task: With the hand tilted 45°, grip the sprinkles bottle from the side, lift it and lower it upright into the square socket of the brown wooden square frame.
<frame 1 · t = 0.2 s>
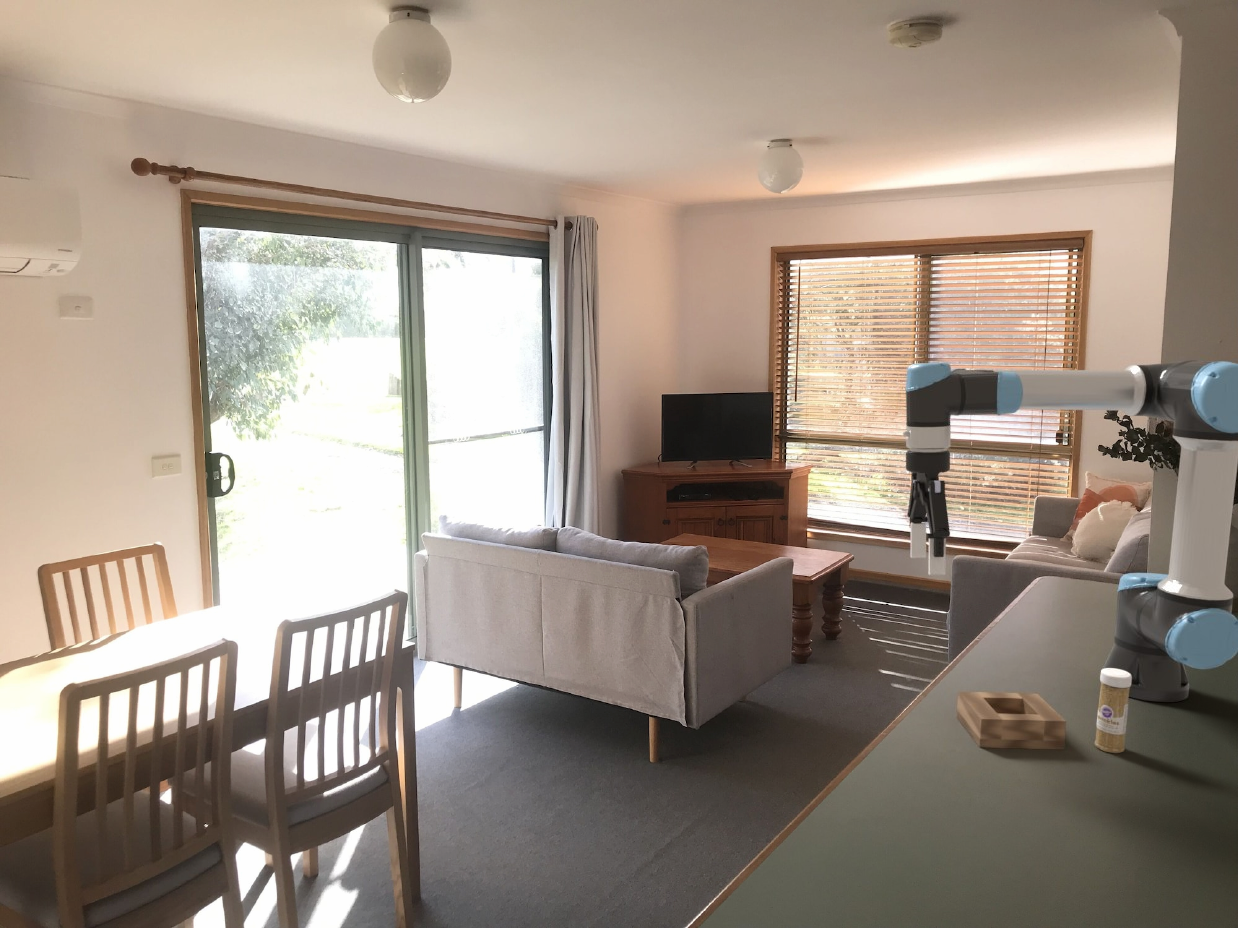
hand: (927, 565, 166), 27 cm above the kitchen counter, tool pointing down, fingers open, 13 cm apart
sprinkles bottle: (1109, 749, 155), on the kitchen counter
brown wooden square frame: (1008, 732, 160), on the kitchen counter
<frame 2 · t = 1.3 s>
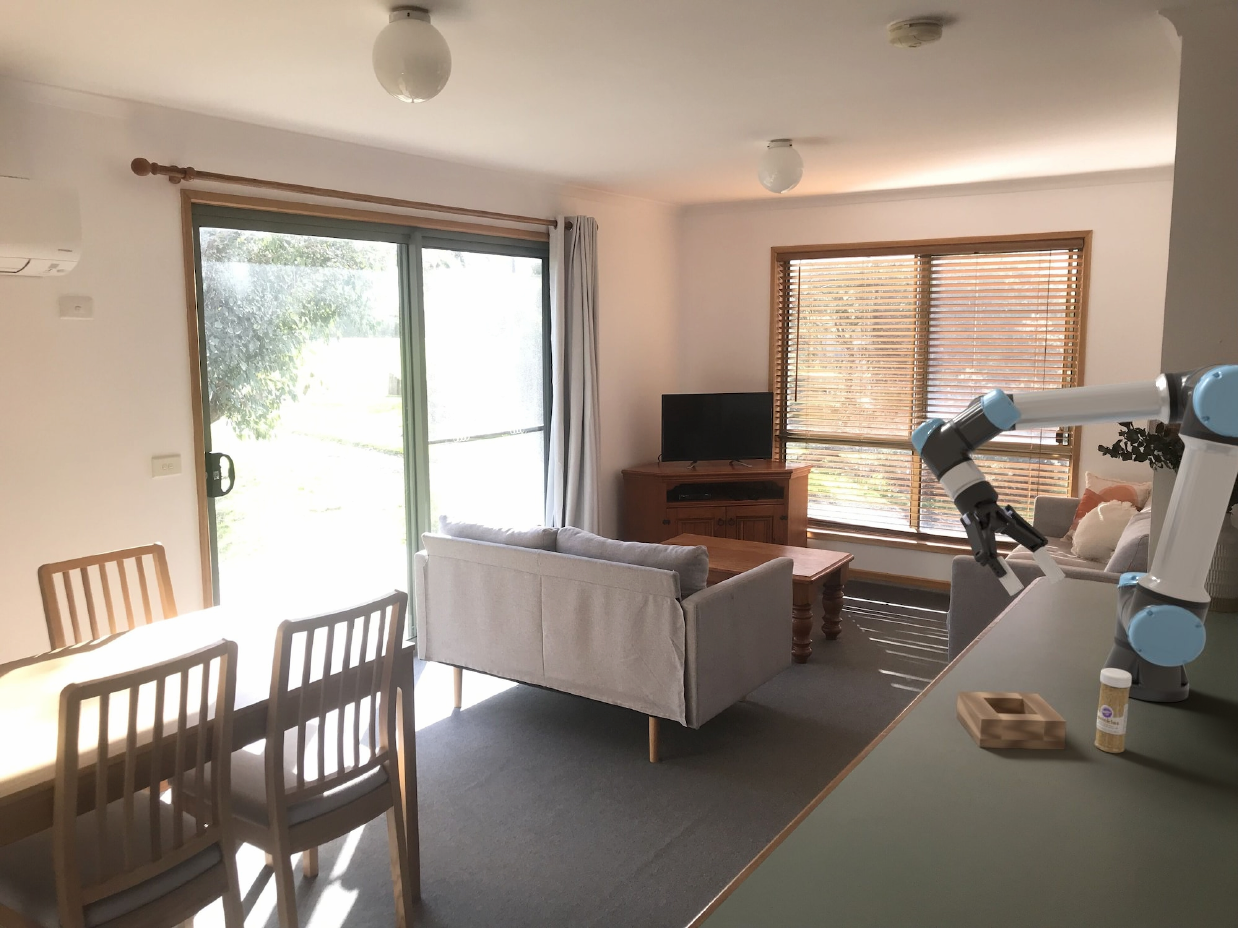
hand: (1038, 585, 163), 25 cm above the kitchen counter, tool tilted 45°, fingers open, 13 cm apart
nothing on the kitchen counter moved.
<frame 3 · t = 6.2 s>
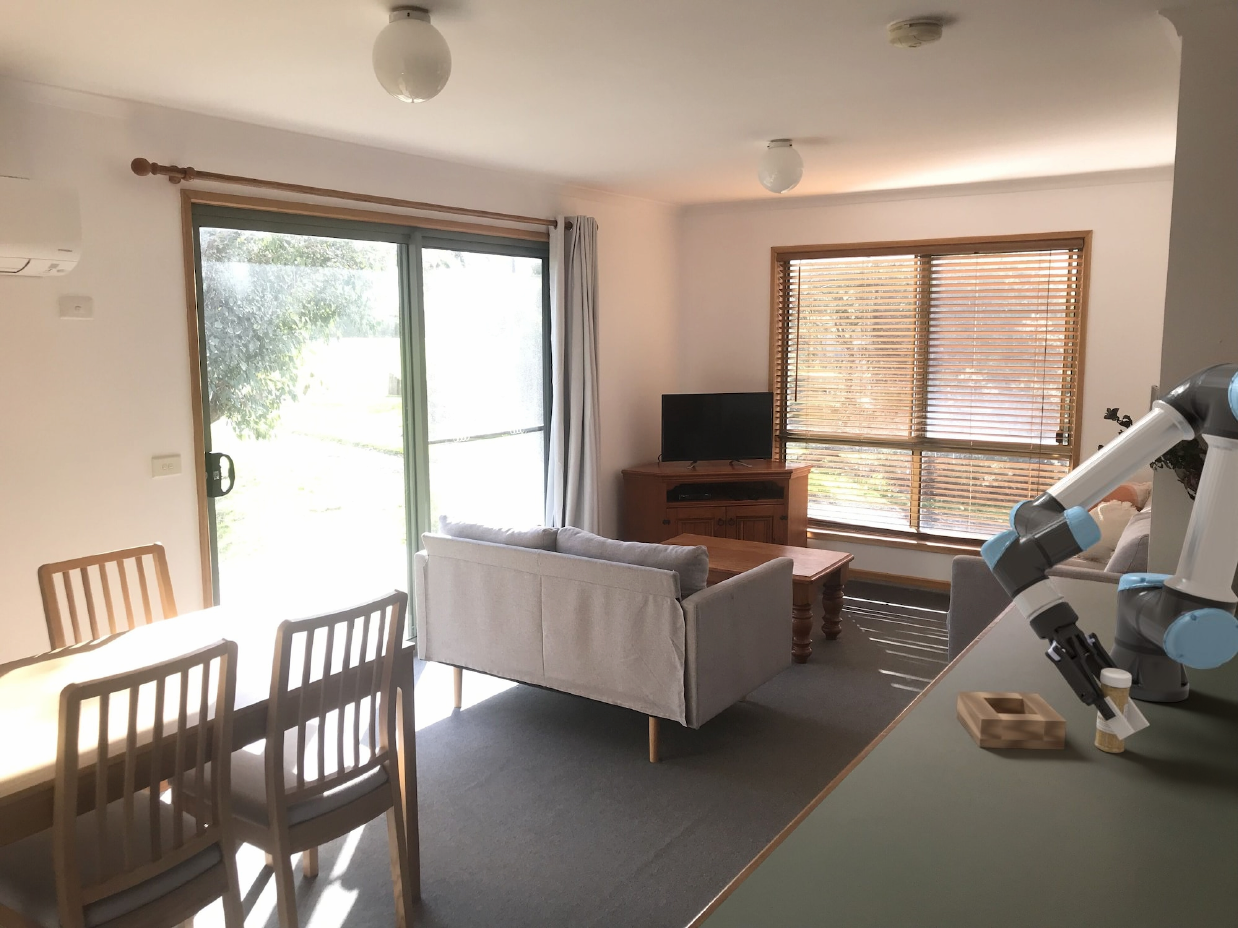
hand: (1134, 732, 151), 4 cm above the kitchen counter, tool tilted 45°, fingers closed on sprinkles bottle, 4 cm apart
sprinkles bottle: (1109, 749, 155), on the kitchen counter, touching gripper
when the fingers open (7 cm above the kitchen counter, at t = 11.3 s): sprinkles bottle drops 2 cm, resting on brown wooden square frame.
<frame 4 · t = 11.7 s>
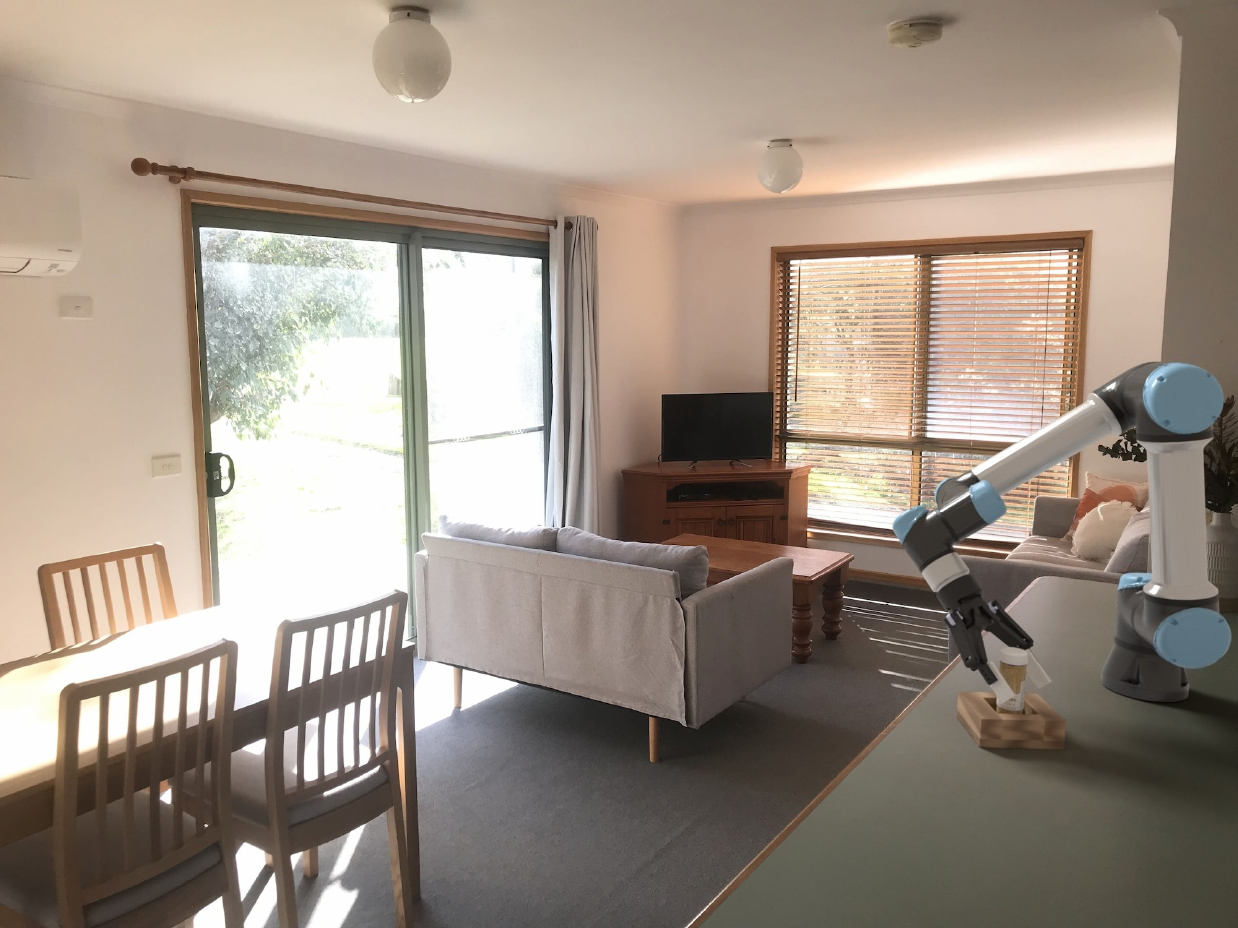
hand: (1027, 692, 157), 8 cm above the kitchen counter, tool tilted 45°, fingers open, 10 cm apart
sprinkles bottle: (1008, 725, 160), point 1 cm above the kitchen counter, touching brown wooden square frame
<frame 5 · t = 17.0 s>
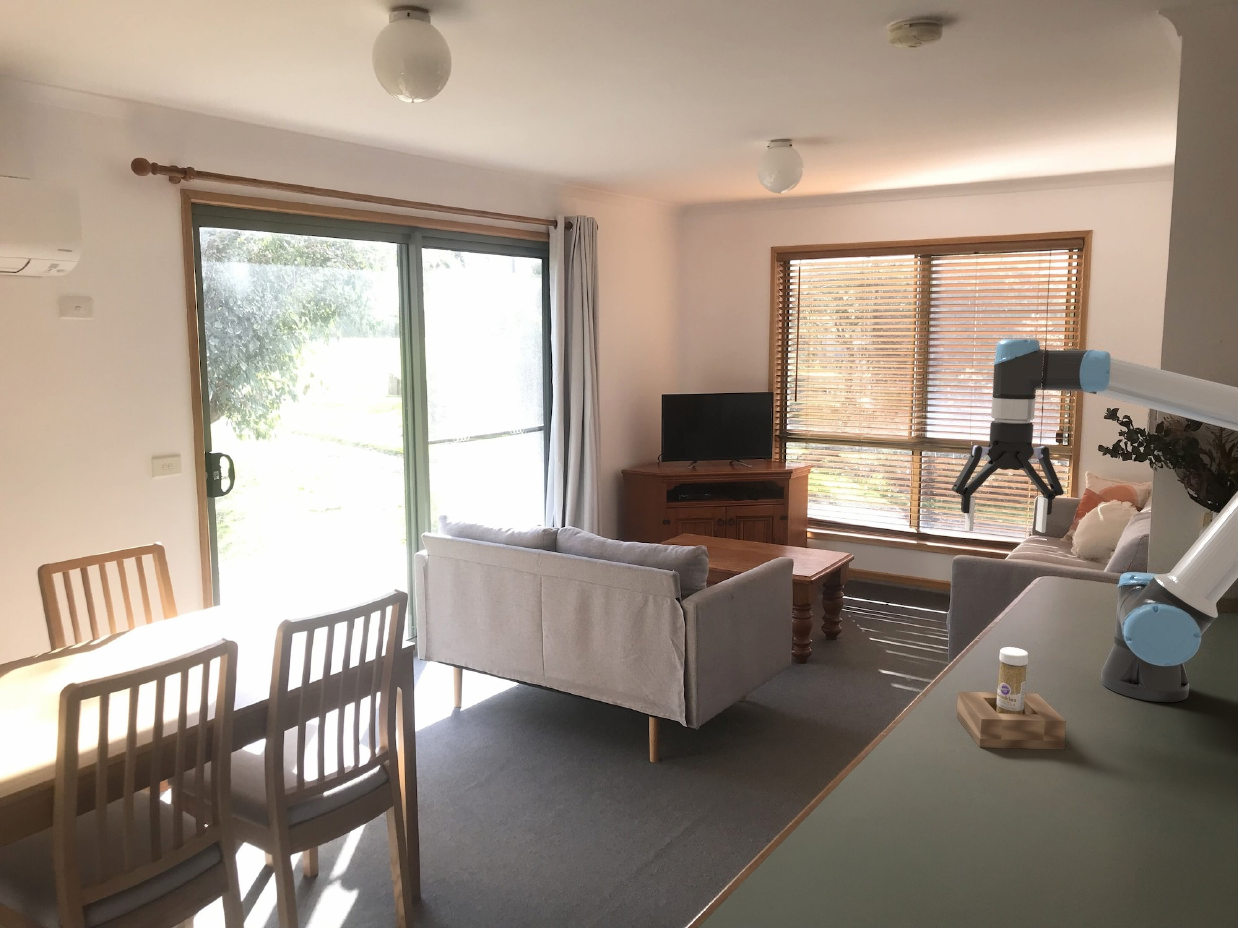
hand: (1004, 530, 176), 32 cm above the kitchen counter, tool pointing down, fingers open, 13 cm apart
nothing on the kitchen counter moved.
at the end: sprinkles bottle 0.1 cm off-centre on the brown wooden square frame, point 1.3 cm above the brown wooden square frame's base; sprinkles bottle tilted 0°; the gripper is holding nothing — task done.
